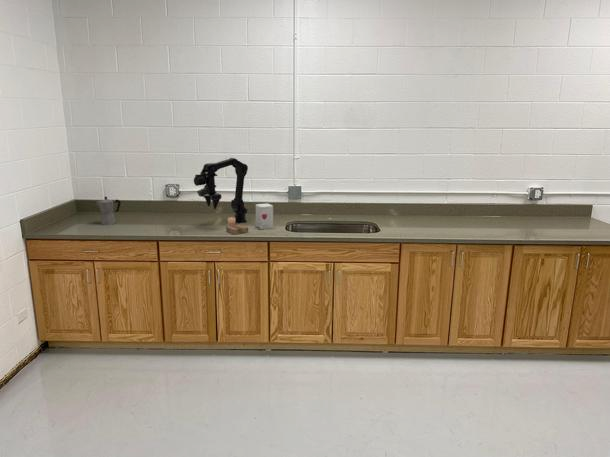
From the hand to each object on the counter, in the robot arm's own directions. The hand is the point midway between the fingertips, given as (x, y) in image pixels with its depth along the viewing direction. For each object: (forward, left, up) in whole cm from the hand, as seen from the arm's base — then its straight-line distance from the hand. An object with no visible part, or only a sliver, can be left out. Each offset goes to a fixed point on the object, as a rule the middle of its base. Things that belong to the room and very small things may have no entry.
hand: (211, 207), depth 297 cm
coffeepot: (+52, -47, -13) cm, 71 cm away
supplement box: (-27, +20, -13) cm, 36 cm away
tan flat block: (-7, +20, -13) cm, 25 cm away
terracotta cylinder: (-10, +7, -13) cm, 18 cm away
